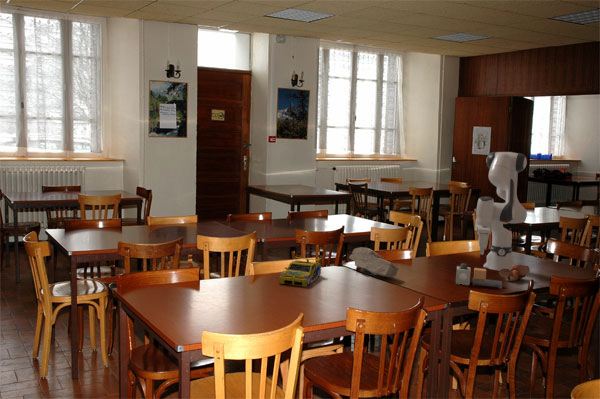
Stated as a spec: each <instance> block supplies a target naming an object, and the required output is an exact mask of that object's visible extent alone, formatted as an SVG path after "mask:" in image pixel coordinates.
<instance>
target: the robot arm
mask: <svg viewBox="0 0 600 399" xmlns="http://www.w3.org/2000/svg"><path fill="white" fill-rule="evenodd" d="M485 160H486V161H485V162H486V167H487V168H488V169H489V171H488V180H489V182H490V183H491V184H492V185H493V186H495V187H496V194H497V196H498V197H499V198H501V199H503V200H504V201H505V202H495V200H494V197H491V196H481V197H479V198H478V200H477V203H476V204H477V205H476V210H475V212H476V213H475V215H476V219H475V224H474V231H476V234H477V235H478V239H477V240H478V246H479V254H480V255H484V254H485V249H486V248H488V247H487V246H488V243H489V238H490V234H491V235H492V237H491V244H490V252H488V254H487V255H486V258H485V259H486V262H484V264H483V266H482V267H483V268H484V269H489V270H493V271H498V272H499V271H500V270H502V269H509V270H511V269H512V267H514V262H515V260H514V259H515V256H514V255H513V254H512V252H513V247H512V240H513V233H512V232H511V231H510V230H509V229H507V228H505V227H504V224H521V223H524V222H525V221H526V219H527V217H528V212H527V210H526V208H525V207H524V206H523V205H522V203H520V201H519V199H518V195H517V193H518V192H517V188H518V178H519V177H518V174H520V172H523V171H524V170H525V169H526V166H527V164H528V163H527V162H528V161H527V156H526V155H525V154H523V153H520V152H518V153H517V152H513V151H492V152H491V151H490V152H489V153H488V154H487V157H486V159H485Z"/></svg>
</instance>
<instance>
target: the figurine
mask: <svg viewBox="0 0 600 399" xmlns="http://www.w3.org/2000/svg"><path fill="white" fill-rule="evenodd" d="M530 271H531V268H530V267H529V265H523V264H515V265H513V267H512V269H511V270H509V269H502V270H500V271H498V275H499V276H500V277H501V278H504V280H505V282H508V281H509V282H510V281H516V280H518V281H520V280H522V279H523V278H526V276H527V275H528V274H529V273H530Z"/></svg>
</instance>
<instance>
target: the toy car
mask: <svg viewBox="0 0 600 399" xmlns="http://www.w3.org/2000/svg"><path fill="white" fill-rule="evenodd" d="M294 259H301V260H294V261H293V260H291V262H289V264H288V266H287V267H284V269H285V270H282V271H281V273H280V276H279V277H278V280H279V284H281V285H290V286H297V287H298V286H299V287H303V288H304V287H305V288H307V287H308V286H310V285H311V284H312V283H314V281H316V280H318V278H320V276H321V275H322V274H321V273H322V270H321V269H322V263H321V262H322V257H320V258H319V259H316V258H315V259H313V258H306V257H298V255H297V254H296V255H295V256H294ZM304 260H306V261H304ZM312 261H315V262H312ZM316 261H318V262H316Z"/></svg>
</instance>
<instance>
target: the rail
mask: <svg viewBox="0 0 600 399" xmlns="http://www.w3.org/2000/svg"><path fill="white" fill-rule="evenodd" d="M473 282H474V277H472V283H471V284H472V286H481V287H482V286H484V287H492V288H498V289H503V281H502V280H495V279H487V278H486V282H485V284H478V283H473Z"/></svg>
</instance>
